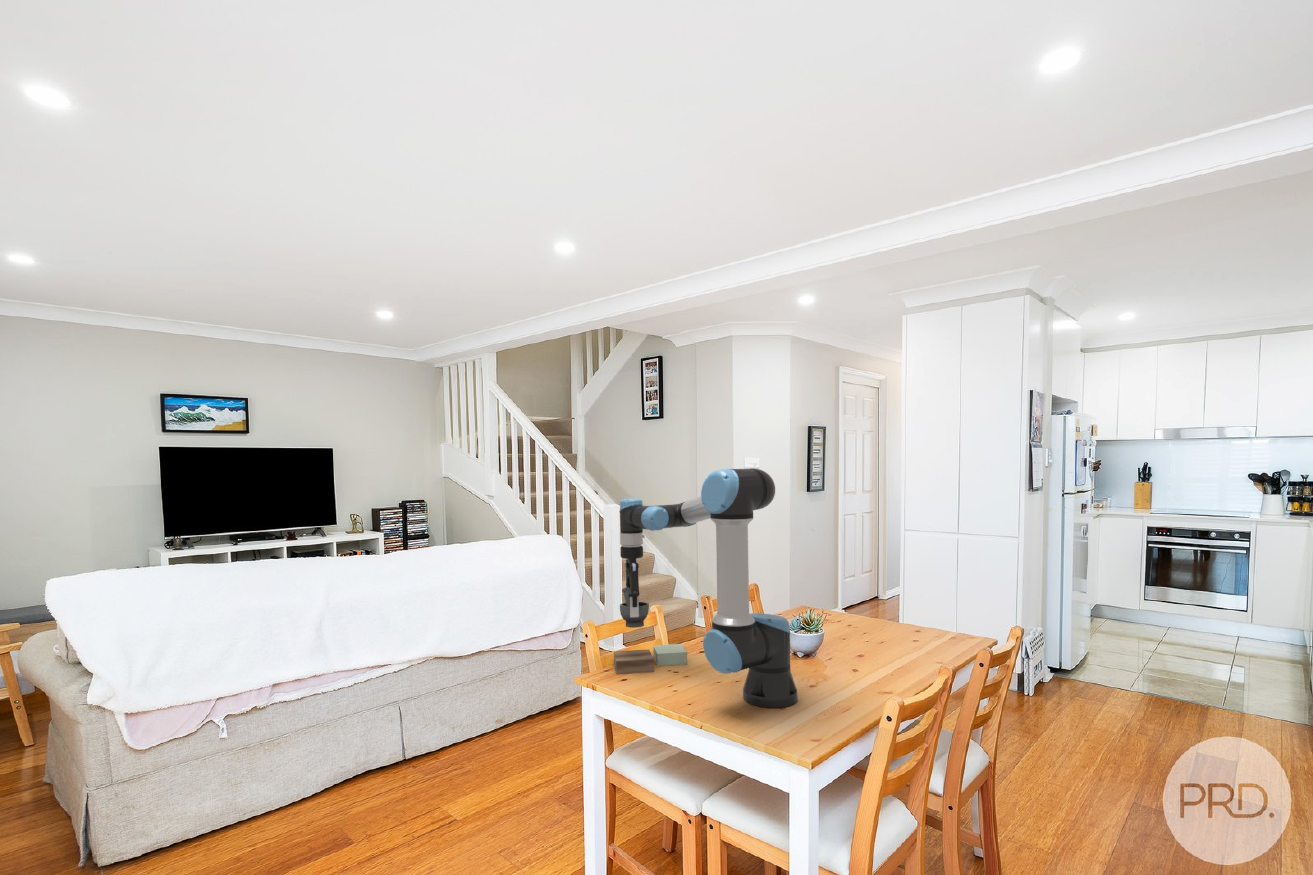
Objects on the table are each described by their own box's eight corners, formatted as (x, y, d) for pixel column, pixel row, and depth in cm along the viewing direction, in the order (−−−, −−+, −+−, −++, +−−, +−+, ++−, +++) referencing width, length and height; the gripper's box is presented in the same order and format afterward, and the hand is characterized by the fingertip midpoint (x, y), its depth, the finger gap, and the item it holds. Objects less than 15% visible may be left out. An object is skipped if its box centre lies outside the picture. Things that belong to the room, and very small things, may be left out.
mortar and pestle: (655, 626, 209) (654, 588, 210) (630, 630, 204) (630, 591, 205) (636, 620, 219) (635, 584, 219) (612, 624, 213) (611, 587, 214)
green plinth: (687, 664, 213) (687, 652, 213) (657, 666, 212) (657, 653, 212) (681, 655, 223) (681, 643, 223) (653, 657, 222) (653, 645, 222)
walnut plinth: (653, 671, 206) (653, 659, 206) (616, 674, 204) (616, 661, 205) (649, 661, 217) (649, 649, 217) (613, 663, 215) (613, 651, 215)
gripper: (647, 549, 201) (648, 620, 201) (638, 541, 225) (639, 604, 224) (623, 550, 200) (624, 621, 199) (617, 541, 223) (618, 605, 222)
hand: (632, 612), depth 211 cm, fingers closed on mortar and pestle, 11 cm apart
